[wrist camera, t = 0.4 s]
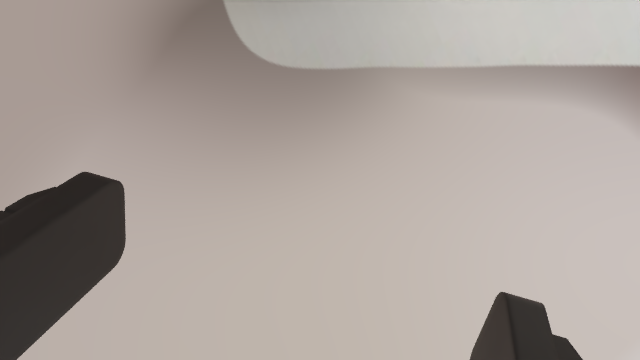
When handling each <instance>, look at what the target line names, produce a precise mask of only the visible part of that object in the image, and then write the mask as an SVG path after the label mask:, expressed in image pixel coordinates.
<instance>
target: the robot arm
mask: <svg viewBox="0 0 640 360" xmlns="http://www.w3.org/2000/svg"><path fill="white" fill-rule="evenodd" d="M125 239H126V238H125V201H124V188H123V185H122V184H121V182H119V181H117V180H114V179H110V178H106V177H103V176H100V175H96V174H92V173H89V172H82V173H80V174H78V175H76V176H74V177H73V178H71V179H69V180H68V181H66V182H64V183H63V184H61V185H59V186H58V187H53V188H50V189H47V190H43V191H40V192H37V193H33V194H30V195H27V196H25V197H24V198H22V199H20V200H18V201H17V202H15V203H13V204H12V205H10V206H8V207H6V208H5V211H0V360H17V358H18V357H20V356H21V355H22V354H23V353H24V352H25V351H26V350H27V349H28V348H29V347H30V346H31V345H32V344H34V343H35V341H37V340H38V339H39V338H40V337H41V336H42V335H43V334H44V333H45V332H46V331H47V330H48V329H49V328H50V327H52V326H53V325H54V324H55V323H56V322H57V321H58V320H59V319H60V318H61V317H62V316H63V315H64V314H65V313H66V312H67V311H68V310H70V309H71V308H72V307H73V306H74V305H75V304H76V303H77V302H78V301H79V300H80V299H81V298H82V297H83V296H84V295H85V294H86V293H88V292H89V291H90V290H91V289H92V288H93V287H94V286H95V285H96V284H97V283H98V282H99V281H100V280H101V279H102V278H103V277H105V276H106V275H107V274H108V273H109V272H110V271H111V270H112V269H113V268H114V267H115V266H116V265H117V263H118V262H119V260H120V258H121V256H122V254H123V251H124V247H125ZM470 360H583V359H582V358H581V357H580V355H579V354H578V353H577V351H576V350H575V349H574V348H573V346H572V345H571V344H570V342H569V341H568V340H567V339H566V338H563V337H560V336H556V335H553V334H552V332H551V328H550V325H549V321H548V317H547V313H546V310H545V307H544V305H543V304H542V303H539V302H536V301H532V300H529V299H525V298H522V297H518V296H515V295H512V294H508V293H505V292H500V293H499V294H498V295H497V297H496V299H495V301H494V303H493V305H492V307H491V310H490V312H489V314H488V317H487V319H486V321H485V323H484V326H483V328H482V330H481V332H480V335H479V337H478V339H477V341H476V343H475V346H474V348H473V351H472V354H471V357H470Z"/></svg>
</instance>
